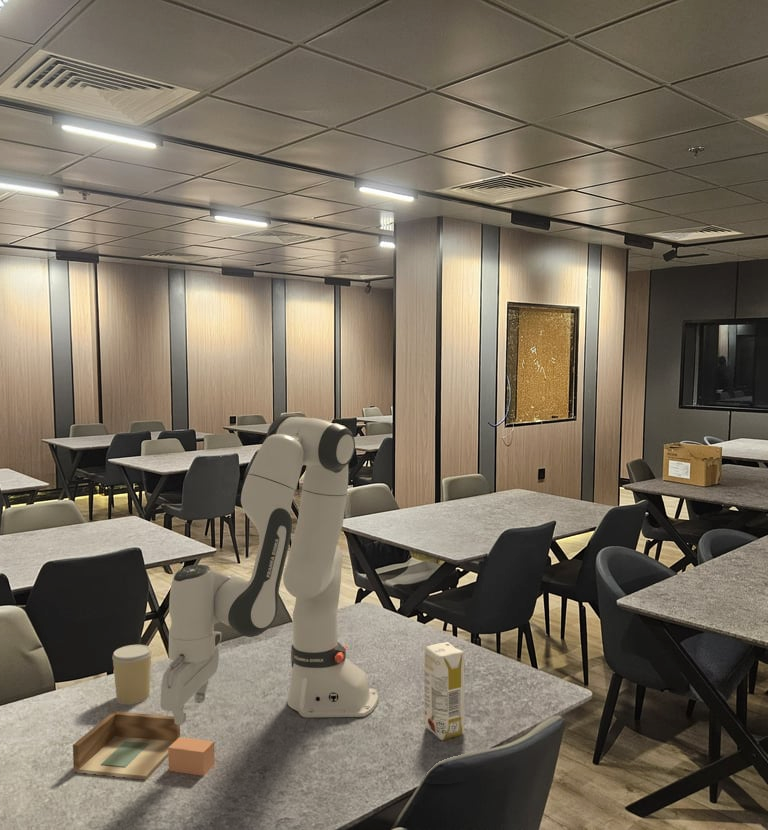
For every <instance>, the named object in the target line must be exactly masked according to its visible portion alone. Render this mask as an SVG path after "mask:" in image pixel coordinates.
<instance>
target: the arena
mask: <svg viewBox="0 0 768 830" xmlns="http://www.w3.org/2000/svg"><path fill="white" fill-rule="evenodd" d="M179 737H181V725H176V724H175V723H174V715H161V714H160V715H159V714H152V713H151V714H148V713H140V712H139V713H137V712H126V711H116V710H115V711H112V712H110V713H109V714H108V715H107V716H106V717H104V718H103V719H102V720H100V722H99V723H97V724H96V725H95V726H94V727H92V728H91V729H90V730H89V731H88V732H87V733H86V734H84V735H83V736H82V737H81V738H79V739H78V740H77V741H75V743H73V744H72V756H73V757H72V760H73V761H72V762H73V763H72V764H73V765H72V766H73V773H74V772H77V773H76V774H83V773H87V774H86V775H93V774H96V775H95V776H102V775H106V776H105V777H112V776H115V777H114V778H122V777H125V778H124V779H132V778H134V780H142V779H143V781H146V780H148V778H149V777H150V776H151V775H152V774H153V773H154V772H155V771H156V770H157V769H158V768H159V766H160V765H162V763H163V762H164V761H165V760H166V759H167V758H168V747H169V746H170V745H172V744H173V743H174V742H175V741H176V740H177V739H178V738H179Z"/></svg>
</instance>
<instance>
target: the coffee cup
mask: <svg viewBox="0 0 768 830" xmlns="http://www.w3.org/2000/svg"><path fill="white" fill-rule="evenodd" d="M152 653H153V652H152V649H151V647H150V646H148V645H145V644H129V645H125V646H122V647H119V648H117V649H115V651H113V654H112V656H111V657H112V666H113V674H114V684H115V695H116V701H117V702H118V704H121V703H122V705H135V704H139V702H140V703H142V702H144V701H146V700H148V698H149V696H150V690H151V689H150V687H151V668H152Z"/></svg>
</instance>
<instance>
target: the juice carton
mask: <svg viewBox="0 0 768 830" xmlns="http://www.w3.org/2000/svg"><path fill="white" fill-rule="evenodd" d="M424 650H425V651H424V723H425V728H426V729H427V730H428V731H429V732H431V733H432V734H434V735H435V737H436V738H438V739H439V740H440V741H443V740H448V739H451V738H454V737H458V736H462V735H464V734H465V724H466V723H465V717H466V716H465V715H466V713H465V711H466V710H465V709H466V707H465V706H466V705H465V704H466V703H465V701H466V700H465V699H466V697H465V696H466V693H465V692H466V691H465V689H466V688H465V687H466V686H465V683H466V682H465V679H466V677H465V674H466V673H465V667H466V666H465V665H466V663H465V662H466V661H465V651H463V650H461V649H459V648H456V647H454V645H452V644H451V643H450V642H447V641H446V642H442V643H441V642H440V643H435V644H431V645H427V646H425V647H424Z"/></svg>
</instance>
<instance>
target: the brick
mask: <svg viewBox="0 0 768 830" xmlns="http://www.w3.org/2000/svg"><path fill="white" fill-rule="evenodd" d="M167 758H168V759H167V760H168V771H169V772H175V773H176V772H177V773H183V774H189V775H195V776H197V775H198V776H206V775H207V774H208V773H209V771H210V770H211V769H212V768H213V767H214V766H215V764H216V763H215V741H214V740H205V739H199V738H198V739H197V738H192V737H190V738H189V737H182V736H180V737H179V738H178V739H177V740H176V741H175V742H174V743H173V744H172V745H170V746H169V747H168V756H167Z"/></svg>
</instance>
